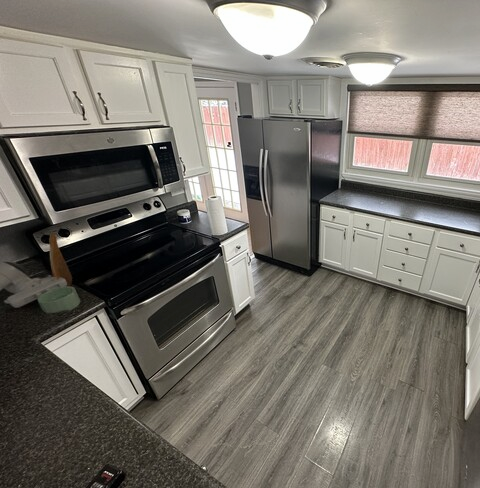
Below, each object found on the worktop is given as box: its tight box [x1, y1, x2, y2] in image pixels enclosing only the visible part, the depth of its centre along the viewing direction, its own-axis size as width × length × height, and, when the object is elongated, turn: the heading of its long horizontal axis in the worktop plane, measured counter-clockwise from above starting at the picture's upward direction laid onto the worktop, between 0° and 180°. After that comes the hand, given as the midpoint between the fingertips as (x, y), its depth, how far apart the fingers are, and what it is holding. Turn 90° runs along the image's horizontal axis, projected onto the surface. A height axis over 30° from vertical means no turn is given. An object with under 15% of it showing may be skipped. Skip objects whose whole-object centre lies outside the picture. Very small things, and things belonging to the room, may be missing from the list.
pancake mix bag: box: [48, 231, 73, 287], centre depth 136 cm, size 7×19×28 cm, turn 34°
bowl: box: [37, 285, 81, 314], centre depth 124 cm, size 13×13×8 cm
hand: (49, 295), depth 124 cm, fingers closed, pressing on bowl
